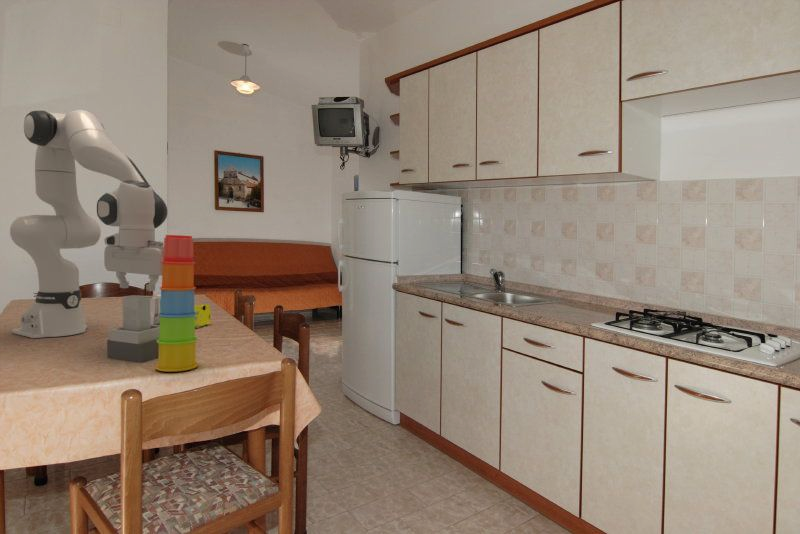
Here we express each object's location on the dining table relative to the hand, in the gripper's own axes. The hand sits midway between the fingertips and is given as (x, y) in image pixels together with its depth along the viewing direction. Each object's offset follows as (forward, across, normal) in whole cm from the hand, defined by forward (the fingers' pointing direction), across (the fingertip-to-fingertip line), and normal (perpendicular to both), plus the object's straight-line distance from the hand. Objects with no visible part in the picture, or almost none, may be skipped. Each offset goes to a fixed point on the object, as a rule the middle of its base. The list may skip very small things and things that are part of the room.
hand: (137, 289), depth 141 cm
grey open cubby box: (+19, -1, 0) cm, 19 cm away
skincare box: (+14, 0, +1) cm, 14 cm away
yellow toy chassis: (+20, +14, -36) cm, 43 cm away
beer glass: (+19, +3, -12) cm, 23 cm away
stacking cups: (+19, -19, +5) cm, 27 cm away
